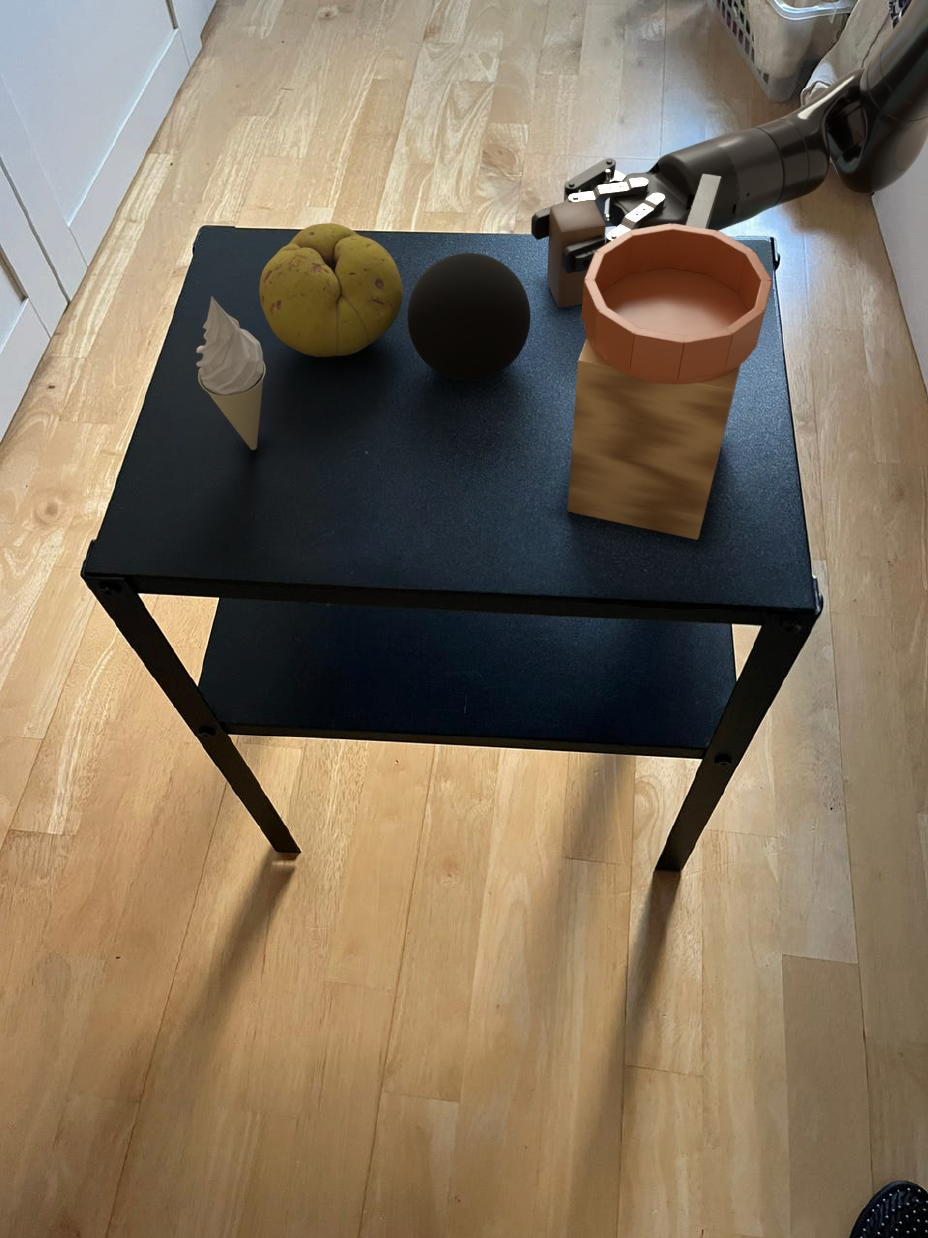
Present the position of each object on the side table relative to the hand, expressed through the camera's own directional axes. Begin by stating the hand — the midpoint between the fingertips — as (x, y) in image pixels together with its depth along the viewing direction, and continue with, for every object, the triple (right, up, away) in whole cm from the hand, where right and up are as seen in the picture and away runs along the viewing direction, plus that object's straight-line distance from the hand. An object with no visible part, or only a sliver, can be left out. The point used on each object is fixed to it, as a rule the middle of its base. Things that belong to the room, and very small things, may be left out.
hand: (549, 244), depth 88 cm
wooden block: (+3, -2, +6) cm, 7 cm away
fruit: (-18, -7, +3) cm, 20 cm away
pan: (+7, -9, -18) cm, 21 cm away
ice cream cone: (-24, -18, -4) cm, 30 cm away
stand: (+7, -21, -7) cm, 23 cm away
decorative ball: (-7, -10, +1) cm, 12 cm away
